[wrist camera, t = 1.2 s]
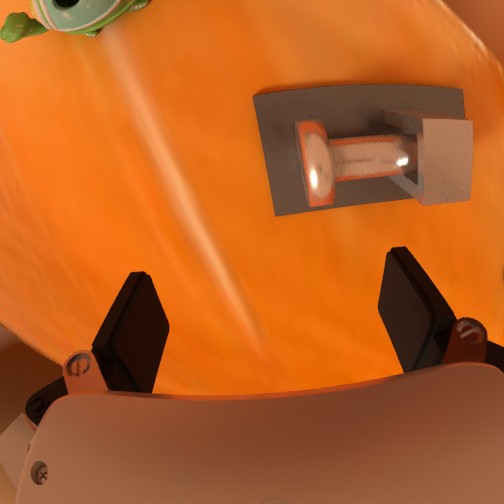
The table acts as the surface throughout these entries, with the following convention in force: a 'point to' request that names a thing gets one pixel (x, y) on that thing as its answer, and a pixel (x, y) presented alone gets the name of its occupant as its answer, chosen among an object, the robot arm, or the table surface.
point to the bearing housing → (368, 124)
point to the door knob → (349, 158)
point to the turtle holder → (66, 17)
